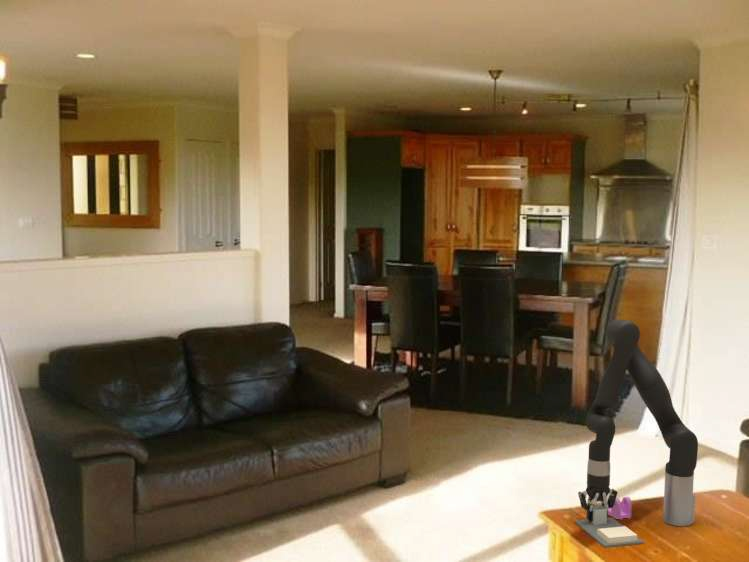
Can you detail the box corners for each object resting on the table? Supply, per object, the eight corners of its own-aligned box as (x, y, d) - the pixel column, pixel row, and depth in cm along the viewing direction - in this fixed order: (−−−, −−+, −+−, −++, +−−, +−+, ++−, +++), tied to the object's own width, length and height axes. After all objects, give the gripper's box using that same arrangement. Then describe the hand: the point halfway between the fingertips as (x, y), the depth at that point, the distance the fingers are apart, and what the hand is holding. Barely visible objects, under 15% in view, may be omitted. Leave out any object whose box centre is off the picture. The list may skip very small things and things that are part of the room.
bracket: (631, 518, 297) (631, 499, 296) (616, 520, 295) (617, 500, 294) (610, 505, 309) (611, 486, 308) (596, 506, 307) (597, 488, 307)
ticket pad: (611, 519, 295) (611, 511, 295) (644, 543, 275) (644, 535, 275) (574, 522, 292) (574, 514, 292) (604, 547, 272) (605, 539, 272)
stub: (599, 518, 294) (599, 503, 294) (606, 524, 289) (607, 508, 289) (587, 519, 293) (588, 504, 292) (594, 525, 288) (595, 509, 288)
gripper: (612, 466, 295) (610, 514, 296) (574, 469, 291) (572, 517, 293) (623, 473, 287) (621, 522, 289) (584, 476, 284) (582, 526, 286)
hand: (596, 520), depth 291 cm, fingers closed on stub, 4 cm apart
